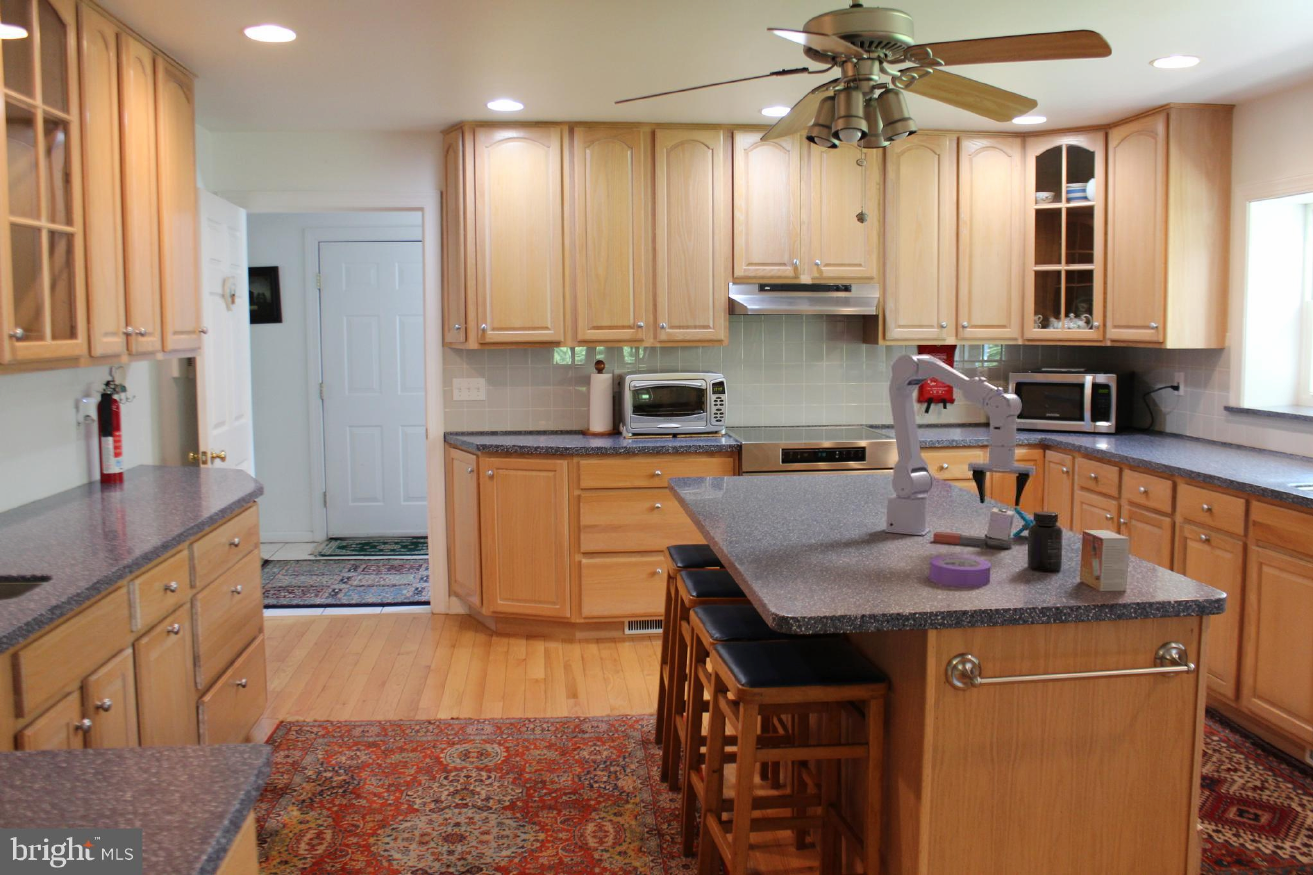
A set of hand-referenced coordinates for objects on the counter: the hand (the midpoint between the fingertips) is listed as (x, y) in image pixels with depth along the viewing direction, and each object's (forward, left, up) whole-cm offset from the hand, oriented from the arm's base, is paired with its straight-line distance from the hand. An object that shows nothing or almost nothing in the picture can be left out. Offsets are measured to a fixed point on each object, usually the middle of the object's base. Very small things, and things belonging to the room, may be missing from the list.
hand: (999, 504), depth 233 cm
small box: (+24, -28, -10) cm, 38 cm away
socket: (0, 0, -8) cm, 8 cm away
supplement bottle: (+12, -18, -10) cm, 24 cm away
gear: (+5, +14, -10) cm, 18 cm away
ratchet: (-6, 0, -10) cm, 12 cm away
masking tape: (-2, -36, -11) cm, 38 cm away
